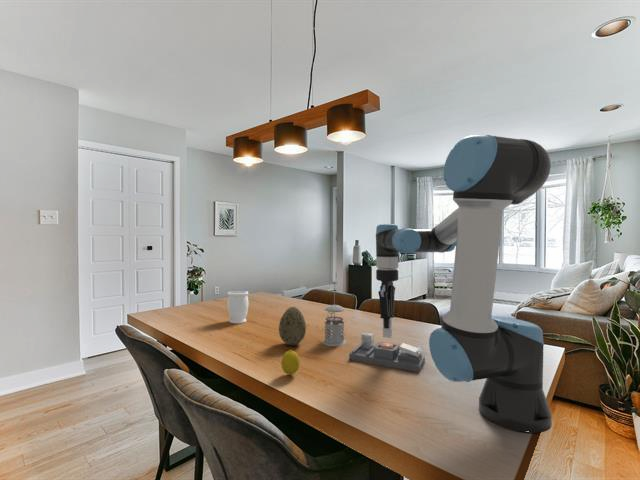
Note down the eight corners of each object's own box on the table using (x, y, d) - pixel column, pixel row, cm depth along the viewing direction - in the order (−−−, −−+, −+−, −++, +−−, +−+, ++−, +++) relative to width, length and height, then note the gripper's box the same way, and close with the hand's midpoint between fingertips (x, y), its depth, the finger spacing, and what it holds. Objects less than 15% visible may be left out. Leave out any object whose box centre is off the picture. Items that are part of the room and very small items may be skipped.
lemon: (290, 370, 106) (290, 345, 106) (303, 375, 102) (303, 349, 102) (277, 376, 101) (277, 350, 101) (290, 381, 98) (290, 354, 98)
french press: (326, 347, 128) (326, 283, 127) (318, 338, 139) (318, 279, 139) (349, 345, 130) (350, 282, 130) (340, 336, 142) (340, 278, 141)
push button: (391, 356, 111) (391, 347, 111) (378, 354, 113) (378, 345, 113) (394, 352, 115) (394, 344, 115) (382, 350, 117) (382, 342, 117)
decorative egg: (311, 343, 132) (311, 306, 132) (294, 351, 123) (294, 311, 123) (290, 338, 138) (290, 303, 138) (273, 345, 129) (273, 307, 129)
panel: (419, 372, 104) (419, 356, 104) (349, 359, 115) (349, 345, 115) (424, 361, 113) (424, 347, 113) (359, 350, 124) (359, 337, 124)
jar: (225, 320, 168) (225, 291, 168) (246, 318, 173) (246, 289, 173) (229, 325, 159) (229, 294, 159) (250, 323, 163) (250, 292, 163)
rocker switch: (418, 357, 107) (419, 351, 107) (399, 349, 110) (400, 344, 110) (420, 352, 111) (421, 347, 111) (402, 346, 114) (403, 341, 114)
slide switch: (370, 349, 118) (371, 335, 118) (361, 348, 120) (361, 334, 120) (373, 347, 121) (373, 333, 121) (364, 345, 123) (364, 332, 123)
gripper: (382, 267, 121) (382, 331, 121) (370, 269, 110) (371, 340, 110) (402, 267, 118) (402, 333, 118) (392, 270, 106) (393, 343, 106)
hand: (387, 336), depth 114 cm, fingers closed
